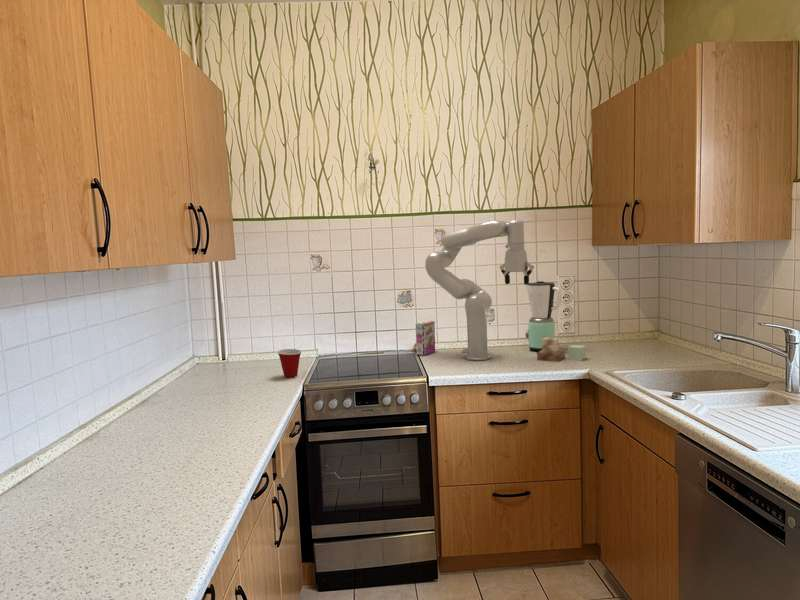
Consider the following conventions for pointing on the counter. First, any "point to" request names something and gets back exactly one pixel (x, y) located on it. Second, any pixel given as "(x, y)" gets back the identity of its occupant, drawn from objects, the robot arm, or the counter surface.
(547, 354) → the walnut base block
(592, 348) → the counter surface
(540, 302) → the mint green blender
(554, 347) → the ash block
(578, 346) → the sage painted block
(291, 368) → the plastic cup
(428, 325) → the candy bar box
